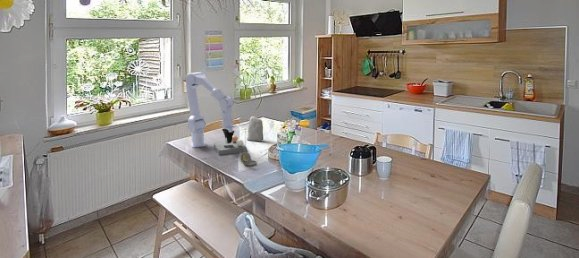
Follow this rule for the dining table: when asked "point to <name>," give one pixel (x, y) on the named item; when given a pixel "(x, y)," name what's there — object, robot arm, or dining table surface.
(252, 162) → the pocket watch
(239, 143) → the cream ball
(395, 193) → the dining table surface
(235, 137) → the terracotta ball
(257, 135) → the decorative stone
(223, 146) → the hole plate
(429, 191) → the dining table surface
